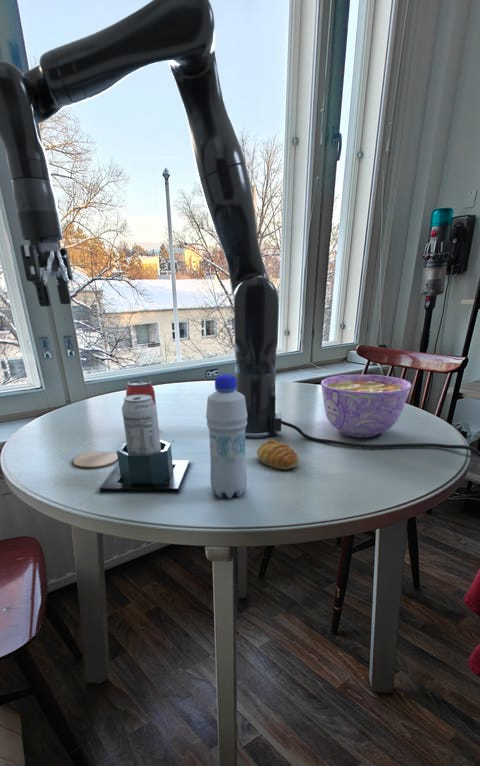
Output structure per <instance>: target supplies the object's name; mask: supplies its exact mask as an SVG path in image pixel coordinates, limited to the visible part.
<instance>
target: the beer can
mask: <svg viewBox="0 0 480 766" xmlns="http://www.w3.org/2000/svg"><path fill="white" fill-rule="evenodd" d="M126 385H127V386H126V390H125V397H126V396H130V395H137V394H146V395H151V396H152V400H153V402H154V403H155V405H156V406H157V401H156V392H155V389H154V387H153V384H152V381H151V380H146V379H138V380H132V381H128V382H127V383H126Z"/></svg>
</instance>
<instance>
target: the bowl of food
mask: <svg viewBox="0 0 480 766" xmlns="http://www.w3.org/2000/svg"><path fill="white" fill-rule="evenodd" d="M320 386H321V392H322V399H323V406H324V411H325V416H326V419H327V421H328V422H329V424H330V425H331V426H332V427H333V428H335V429H337V430H338V431H341V432H342V433H343V434H344V435H345V436H348V437H353V438H372V437H373V438H374V437H376V436H377V435H378V434H381V433H384V432H386V431H388V430H390V429H392V427H393V426H394V425H395V424H396V423H397V422H398V420H399V418H400V417H401V414H402V412H403V410H404V407H405V404H406V402H407V399H408V397H409V395H410V393H411V389H412V387H413V385H412V383H411V382H410V381H408V380H406V379H403V378H399V377H394V376H389V375H388V376H387V375H381V374H379V375H378V374H341V375H335V376H330V377H326V378H324V379H322V380H321V382H320Z"/></svg>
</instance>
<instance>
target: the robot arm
mask: <svg viewBox="0 0 480 766" xmlns="http://www.w3.org/2000/svg"><path fill="white" fill-rule="evenodd" d="M215 27H216V25H215V16H214V10H213V7H212V4H211V2H210V0H151V1H149V2H148V3H147V4H145V5H144V6H142V7H141V8H138V9H137V10H136V11H134V12H132V13H130V14H129V15H127V16H126V17H124V18H122V19H120V20H119V21H117V22H115V23H113V24H111V25H109V26H107V27H105V28H102V29H101V30H99V31H96V32H94V33H92V34H89V35H87V36H85V37H81V38H79V39H76V40H73V41H71V42H67V43H65V44H62V45H60V46H57V47H55V48H52V49H50V50H48V51H46V52H43V54H41V56H40V57H39V61H38V62H39V64H38V65H37V66H34V67H33V68H31V69H30V70H27V71H24V72H22V71H21V70H20V69H19V68H18V67H17V66H15V64H13V63H11V62H9V61H7V60H0V140H1V143H2V144H3V147H4V150H5V156H6V162H7V167H8V170H9V171H8V172H9V176H10V180H11V188H12V196H13V202H14V205H15V210H16V215H17V220H18V224H19V230H20V234H21V237H22V240H25V241H28V242H29V244H20V246H19V249H20V254H21V260H22V264H23V268H24V274H25V279H26V281H27V282H31V283H32V285H33V286H34V287H35V291H36V295H37V300H38V304H39V306H40V307H41V308H43V307H52V301H51V296H50V295H51V294H50V291H49V285H48V279H49V278H48V277H49V276H50V275H51V276H52V277H53V279H54V281H55V283H56V287H57V293H58V299H59V303H60V304H61V305H70V304H72V299H71V292H70V287H69V284H70V282H71V281H73V279H74V276H73V272H72V267H71V262H70V256H69V252H68V249H67V247H59V244H58V241H62V240H63V239H64V235H63V230H62V223H61V219H60V212H59V207H58V201H57V197H56V193H55V190H54V186H53V182H52V175H51V171H50V166H49V160H48V156H47V153H46V149H45V148H44V145H43V144H42V142H41V140H40V138H39V135H38V131H37V125H39V124H42V123H44V122H46V121H47V120H49V119H51V118H52V117H53V116H56V115H57V114H58V113H59V112H60V111H62V110H64V109H65V108H67V107H72V106H74V105H77V104H80V103H82V102H86V101H88V100H91V99H93V98H95V97H98V96H100V95H102V94H104V93H106V92H107V91H109V90H110V89H112V88H113V87H115V86H117V85H118V84H119V83H120V82H122V81H123V80H124V79H125V78H127V77H128V76H130V75H131V74H133V73H135V72H137V71H139V70H141V69H143V68H146V67H148V66H151V65H154V64H158V63H164V62H167V64H168V66H169V69H170V71H171V72H170V73H171V74H172V77H173V80H174V82H175V85H176V89H177V90H178V94H179V97H180V100H181V102H182V106H183V109H184V111H185V115H186V119H187V123H188V129H189V135H190V141H191V147H192V153H193V158H194V162H195V168H196V171H197V177H198V180H199V184H200V188H201V191H202V195H203V198H204V202H205V207H206V209H207V211H208V214H209V218H210V221H211V223H212V226H213V229H214V232H215V234H216V236H217V238H218V241H219V244H220V246H221V249H222V252H223V255H224V258H225V261H226V265H227V270H228V274H229V279H230V286H231V292H232V300H233V301H232V302H233V319H234V321H233V322H234V325H233V326H234V377H235V378H236V382H237V387H236V388H237V389H236V390H235V391H237V392H239V393H241V394H243V395H244V396H245V402H246V409H247V415H248V416H247V425H246V427H245V438H251V439H260V438H267V437H275V436H276V432H282V426H286V427H289V428H291V429H293V430H295V431H296V432H298V434H299V435H300V436H301V437H303V438H304V439H307V440H310V441H313V442H316V443H317V442H318V443H324V444H325V443H326V444H333V445H339V446H344V447H345V446H346V447H351V448H353V447H354V448H364V449H389V448H441V449H452V450H453V449H457V450H467V451H470V452H472V453H474V454H475V455H476V456H477V457H478V458H480V451H479V449H477V448H475V447H473V446H470V445H464V444H444V443H433V442H432V443H428V442H424V443H423V442H420V443H419V442H417V443H416V442H414V443H383V444H381V443H379V444H378V443H377V444H375V443H373V444H372V443H371V444H370V443H356V442H348V441H341V440H335V439H327V438H319V437H314V436H310V435H308V434H307V433H305V432H304V431H303V430H302V429H301V428H300V427H298V426H296V425H295V424H292V423H290V422H286V421H285V420H282V413H281V412H276V397H277V395H276V377H277V376H276V375H277V371H276V370H277V347H278V338H279V313H280V312H279V310H280V307H279V306H280V301H279V293H278V290H277V287H276V286H275V284H274V283H273V282H272V281H271V280H270V278H269V275H268V273H267V270H266V265H265V264H264V260H263V256H262V253H261V250H260V246H259V239H258V227H257V219H256V209H255V202H254V196H253V190H252V186H251V185H252V184H251V181H250V177H249V173H248V167H247V165H246V164H247V163H246V160H245V156H244V152H243V150H242V147H241V143H240V139H239V138H238V135H237V133H236V132H237V131H236V130H235V127H234V125H233V122H232V120H231V117H230V115H229V113H228V110H227V107H226V103H225V100H224V96H223V91H222V85H221V80H220V75H219V69H218V62H217V61H218V60H217V55H216V45H215V43H216V41H215V39H216V38H215V37H216V36H215V34H216V33H215V32H216V28H215ZM448 624H449V625H453V622H449V623H448Z"/></svg>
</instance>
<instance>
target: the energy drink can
mask: <svg viewBox="0 0 480 766" xmlns="http://www.w3.org/2000/svg"><path fill="white" fill-rule="evenodd" d="M157 407H158V406H157V404H156V405H155V403H154V402H153V400H152V396H151V395H146V394H137V395H130V396H126V395H125V397H123V404H122V406H121V413H122V420H123V426H124V434H125V441H126V443H127V448H128V453H129V454H151V453H154V452H158V451H161V445H160V440H161V437H160V428H159V418H158V409H157Z"/></svg>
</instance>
